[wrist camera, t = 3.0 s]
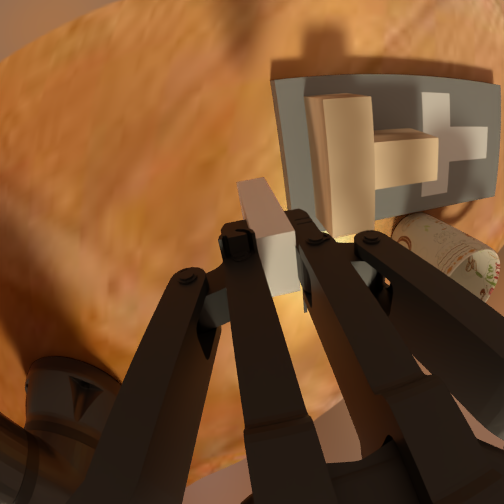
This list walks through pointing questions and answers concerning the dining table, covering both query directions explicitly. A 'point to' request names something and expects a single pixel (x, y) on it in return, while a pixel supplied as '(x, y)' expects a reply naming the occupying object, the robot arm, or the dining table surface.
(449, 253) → the mug
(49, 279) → the dining table surface
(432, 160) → the t block
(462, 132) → the board
